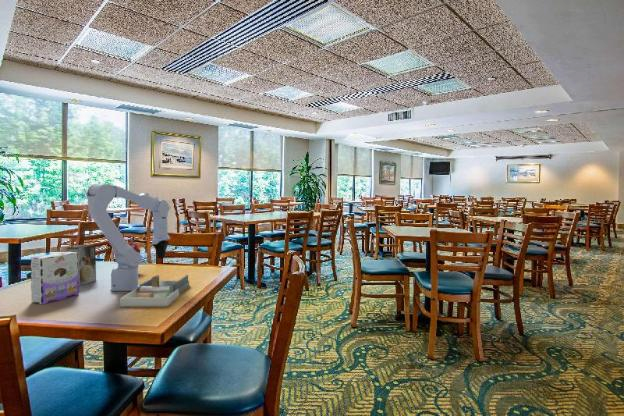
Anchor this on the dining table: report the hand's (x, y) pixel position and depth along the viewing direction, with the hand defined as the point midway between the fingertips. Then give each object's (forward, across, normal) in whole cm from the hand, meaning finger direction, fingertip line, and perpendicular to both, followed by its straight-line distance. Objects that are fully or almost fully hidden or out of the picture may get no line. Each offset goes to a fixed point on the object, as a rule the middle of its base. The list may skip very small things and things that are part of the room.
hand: (161, 258), depth 165 cm
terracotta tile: (+10, -27, -4) cm, 29 cm away
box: (+10, -30, -7) cm, 32 cm away
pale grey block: (+8, -25, -7) cm, 27 cm away
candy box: (+10, -26, +29) cm, 40 cm away
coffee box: (+10, -2, +33) cm, 35 cm away
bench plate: (+10, -15, -7) cm, 20 cm away
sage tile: (+10, -27, -10) cm, 31 cm away
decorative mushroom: (+11, +18, +21) cm, 30 cm away
